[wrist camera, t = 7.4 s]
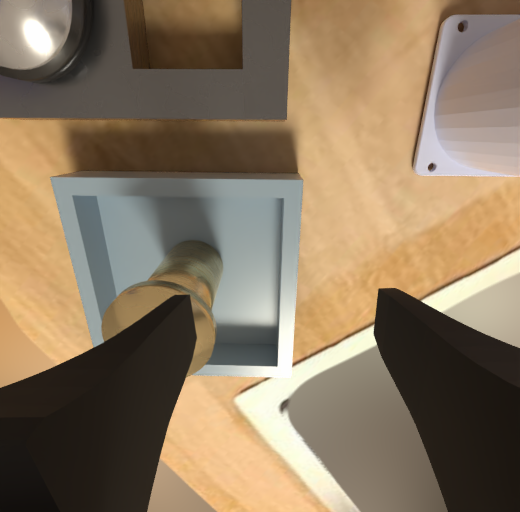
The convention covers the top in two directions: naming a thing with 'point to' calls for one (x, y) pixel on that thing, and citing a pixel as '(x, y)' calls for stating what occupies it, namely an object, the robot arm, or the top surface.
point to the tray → (201, 229)
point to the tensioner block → (133, 66)
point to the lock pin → (174, 283)
